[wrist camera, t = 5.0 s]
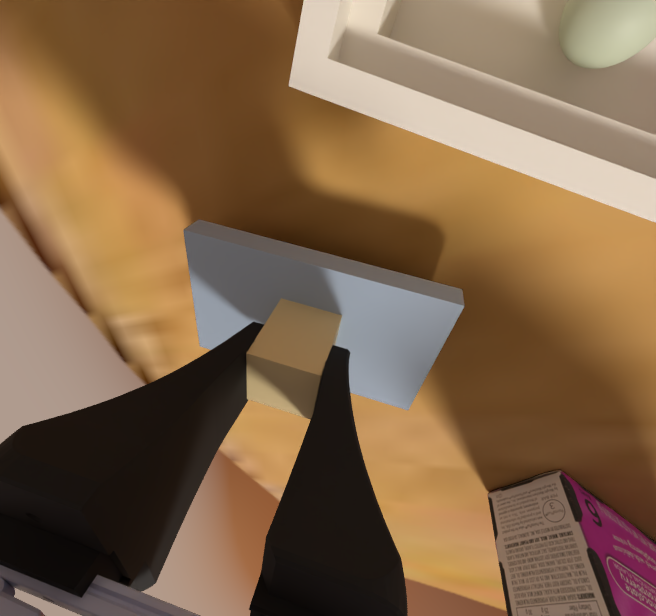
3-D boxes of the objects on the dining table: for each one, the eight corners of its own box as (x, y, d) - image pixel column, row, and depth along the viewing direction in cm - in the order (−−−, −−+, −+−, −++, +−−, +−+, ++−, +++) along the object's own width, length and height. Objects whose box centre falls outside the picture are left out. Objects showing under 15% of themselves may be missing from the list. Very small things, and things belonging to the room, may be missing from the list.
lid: (462, 289, 11) (474, 374, 8) (409, 392, 15) (403, 477, 12) (199, 219, 12) (121, 272, 9) (210, 332, 16) (158, 396, 13)
